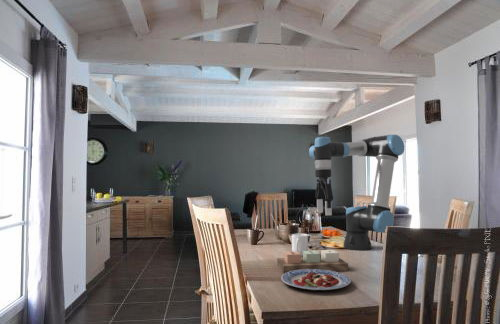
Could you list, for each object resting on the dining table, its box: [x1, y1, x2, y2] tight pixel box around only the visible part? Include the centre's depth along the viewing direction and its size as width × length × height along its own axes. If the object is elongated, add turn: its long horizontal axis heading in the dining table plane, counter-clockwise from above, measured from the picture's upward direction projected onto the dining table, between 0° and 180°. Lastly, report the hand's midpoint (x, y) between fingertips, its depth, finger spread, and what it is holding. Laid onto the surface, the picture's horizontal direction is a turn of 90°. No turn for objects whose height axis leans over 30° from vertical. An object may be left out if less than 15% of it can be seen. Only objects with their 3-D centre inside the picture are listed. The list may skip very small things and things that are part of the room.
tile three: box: [283, 251, 302, 264], centre depth 151 cm, size 6×6×4 cm
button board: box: [276, 256, 349, 274], centre depth 152 cm, size 28×14×3 cm, turn 96°
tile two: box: [302, 250, 321, 263], centre depth 152 cm, size 6×6×4 cm
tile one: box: [320, 249, 340, 262], centre depth 153 cm, size 6×6×4 cm
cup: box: [291, 233, 309, 257], centre depth 177 cm, size 8×12×10 cm
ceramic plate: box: [280, 269, 352, 291], centre depth 130 cm, size 26×26×3 cm
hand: (324, 213), depth 164 cm, fingers open, 12 cm apart
